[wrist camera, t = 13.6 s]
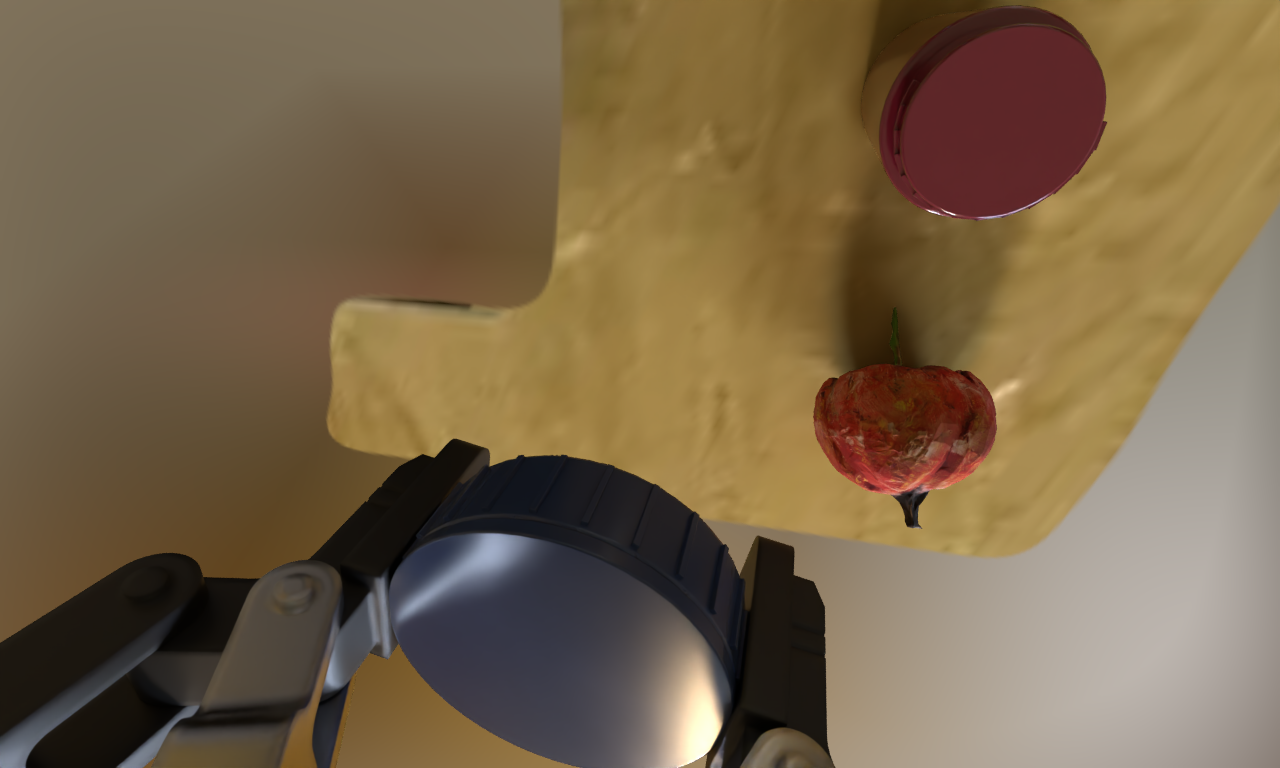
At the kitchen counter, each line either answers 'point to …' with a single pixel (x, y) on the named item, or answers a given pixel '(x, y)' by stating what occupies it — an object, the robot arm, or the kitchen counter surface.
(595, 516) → the lid
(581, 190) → the kitchen counter surface
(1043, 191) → the jar
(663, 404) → the kitchen counter surface
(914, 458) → the pomegranate
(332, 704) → the robot arm
